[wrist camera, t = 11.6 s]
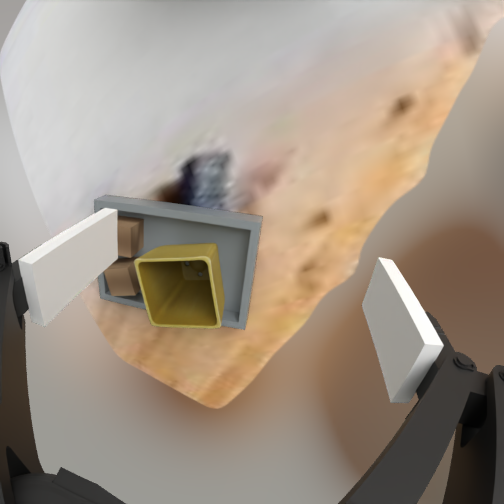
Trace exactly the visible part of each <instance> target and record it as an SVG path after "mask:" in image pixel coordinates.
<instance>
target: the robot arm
mask: <svg viewBox="0 0 504 504" xmlns="http://www.w3.org/2000/svg"><path fill="white" fill-rule="evenodd" d="M117 259H118V242H117V210H116V209H110V208H104V209H102V210H100V211H98V212H96V213H95V214H93V215H91V216H89V217H87V218H86V219H84V220H82V221H80V222H79V223H77V224H75V225H73V226H72V227H70V228H68V229H67V230H65V231H63V232H62V233H60V234H58V235H57V236H55V237H53V238H52V239H50V240H49V241H47V242H45V243H44V244H41V245H40V246H38V247H37V248H35V249H34V250H32V251H30V252H29V253H27V254H26V255H24V256H23V257H21V258H19V259H18V260H16V261H15V262H13V263H11V257H10V252H9V245H8V244H7V243H5V242H0V504H125V503H124V502H123V501H121V500H119V499H118V498H116V497H115V496H113V495H112V494H111V493H109V492H107V491H106V490H105V489H103V488H102V487H101V486H99V485H98V484H96V483H93V482H91V481H89V480H87V479H84V478H82V477H80V476H78V475H76V474H74V473H72V472H70V471H68V470H66V469H64V468H62V467H61V468H60V470H59V472H58V473H57V475H54V474H48V473H44V471H43V469H42V466H41V464H40V462H39V459H38V454H37V450H36V444H35V439H34V433H33V427H32V420H31V413H30V405H29V396H28V386H27V372H26V353H25V352H26V350H25V319H24V315H23V314H24V313H25V312H26V311H27V310H28V309H29V313H30V316H31V320H32V322H34V323H36V324H38V325H41V326H43V327H46V326H47V325H48V324H49V323H50V322H51V321H52V320H53V319H54V318H55V317H56V316H57V315H58V314H59V313H60V312H61V311H62V310H63V309H64V308H65V307H66V306H67V305H68V304H69V303H70V302H71V301H72V300H73V299H74V298H75V297H76V296H77V295H79V294H80V293H81V292H82V291H83V290H84V289H85V288H86V287H87V286H88V285H89V284H90V283H91V282H92V281H93V280H95V279H96V278H97V277H98V276H99V275H100V274H101V273H102V272H103V271H104V270H106V269H107V268H108V267H109V266H110V265H111V264H112V263H113V262H114V261H116V260H117ZM362 308H363V311H364V314H365V317H366V320H367V323H368V326H369V329H370V332H371V336H372V338H373V342H374V345H375V348H376V352H377V355H378V359H379V361H380V365H381V369H382V372H383V376H384V379H385V383H386V387H387V391H388V394H389V398H390V402H391V403H409V402H410V400H411V399H412V397H413V396H414V394H415V393H417V395H418V398H419V400H418V402H417V403H416V405H415V406H414V407H413V409H412V411H411V412H410V413H409V414H408V416H407V417H406V418H405V419H406V420H405V421H404V423H403V424H402V426H401V427H400V429H399V430H398V431H397V433H396V434H395V436H394V437H393V439H392V440H391V441H390V442H389V444H388V445H387V446H386V448H385V449H384V450H383V452H382V453H381V454H380V456H379V457H378V458H377V459H376V461H375V462H374V463H373V464H372V466H371V467H370V468H369V469H368V470H367V472H366V473H365V474H364V475H363V477H362V478H361V479H360V480H359V481H358V482H357V483H356V485H355V486H354V487H353V488H352V489H351V490H350V492H348V494H347V495H346V496H345V497H344V498H343V499H342V500H341V501H340V502H339V503H338V504H417V502H418V500H419V499H420V497H421V496H422V494H423V492H424V491H425V489H426V487H427V485H428V484H429V482H430V480H431V478H432V476H433V474H434V473H435V471H436V469H437V467H438V465H439V463H440V461H441V459H442V457H443V455H444V453H445V451H446V449H447V447H448V445H449V442H450V440H451V438H452V436H453V434H454V431H455V429H456V432H455V440H454V448H453V454H452V460H451V466H450V472H449V477H448V482H447V487H446V491H445V495H444V499H443V503H442V504H504V366H501V365H497V366H495V367H494V368H493V369H492V371H491V373H490V374H489V375H488V374H484V373H481V372H478V371H477V367H476V365H475V363H474V362H473V361H472V360H471V359H470V358H469V357H468V356H466V355H464V354H462V353H459V352H455V351H454V349H453V347H452V346H451V344H450V342H449V340H448V338H447V337H446V335H444V331H443V330H442V329H441V327H440V325H439V323H438V321H437V320H436V319H435V318H434V317H433V316H432V315H431V314H430V313H429V312H424V310H423V308H422V307H421V305H420V303H419V302H418V300H417V298H416V297H415V295H414V293H413V292H412V290H411V289H410V287H409V286H408V284H407V282H406V281H405V279H404V278H403V276H402V274H401V273H400V271H399V270H398V268H397V267H396V265H395V264H394V262H393V261H392V260H389V259H384V258H379V257H378V260H377V263H376V266H375V269H374V272H373V275H372V278H371V281H370V284H369V287H368V289H367V292H366V295H365V298H364V300H363V303H362Z"/></svg>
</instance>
